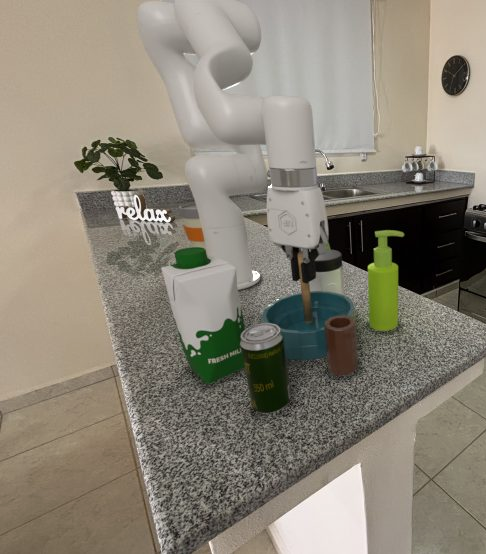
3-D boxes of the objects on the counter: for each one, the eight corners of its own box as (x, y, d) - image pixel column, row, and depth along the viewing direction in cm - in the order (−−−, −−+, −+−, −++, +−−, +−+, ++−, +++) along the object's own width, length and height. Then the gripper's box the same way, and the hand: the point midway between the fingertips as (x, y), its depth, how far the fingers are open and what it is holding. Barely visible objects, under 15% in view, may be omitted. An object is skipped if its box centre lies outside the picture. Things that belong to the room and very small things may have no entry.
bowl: (246, 348, 63) (240, 319, 61) (305, 310, 78) (302, 285, 75) (321, 372, 58) (318, 341, 55) (370, 326, 72) (370, 300, 69)
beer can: (288, 386, 54) (278, 319, 50) (295, 409, 50) (285, 337, 45) (250, 397, 52) (237, 327, 47) (254, 422, 47) (240, 347, 43)
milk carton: (235, 346, 64) (214, 241, 56) (260, 366, 59) (240, 254, 51) (182, 368, 58) (150, 254, 50) (204, 393, 52) (172, 269, 45)
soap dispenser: (404, 331, 70) (406, 235, 63) (370, 334, 69) (367, 236, 61) (400, 317, 75) (401, 227, 68) (368, 319, 74) (365, 228, 67)
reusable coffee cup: (241, 249, 117) (233, 204, 111) (207, 260, 106) (196, 211, 100) (214, 244, 121) (206, 200, 115) (179, 254, 111) (168, 206, 105)
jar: (313, 315, 75) (308, 263, 71) (302, 301, 82) (296, 252, 77) (351, 306, 80) (349, 256, 75) (338, 293, 86) (335, 246, 82)
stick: (303, 324, 69) (295, 251, 63) (308, 320, 70) (301, 249, 64) (309, 325, 68) (302, 253, 62) (314, 322, 70) (308, 250, 64)
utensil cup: (322, 373, 57) (318, 326, 54) (339, 357, 62) (336, 312, 58) (347, 381, 56) (344, 333, 52) (362, 364, 60) (361, 318, 56)
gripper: (241, 177, 58) (257, 279, 65) (319, 185, 53) (327, 295, 60) (273, 173, 64) (285, 266, 71) (346, 179, 59) (351, 279, 66)
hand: (304, 279), depth 65 cm, fingers closed on stick, 1 cm apart
